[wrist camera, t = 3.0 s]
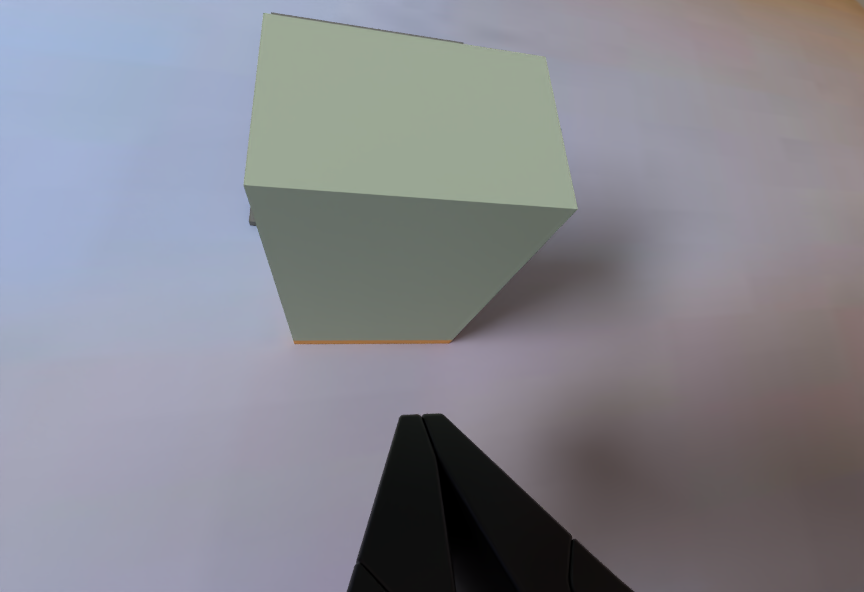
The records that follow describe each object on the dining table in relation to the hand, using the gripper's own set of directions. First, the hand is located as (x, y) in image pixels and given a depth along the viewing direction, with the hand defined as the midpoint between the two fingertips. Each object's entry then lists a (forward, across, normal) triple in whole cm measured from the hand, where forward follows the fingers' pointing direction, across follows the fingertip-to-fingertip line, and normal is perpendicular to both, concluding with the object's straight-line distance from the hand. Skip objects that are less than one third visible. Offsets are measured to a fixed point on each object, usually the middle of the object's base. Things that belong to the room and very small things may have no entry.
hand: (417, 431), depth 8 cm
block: (+10, 0, +1) cm, 10 cm away
